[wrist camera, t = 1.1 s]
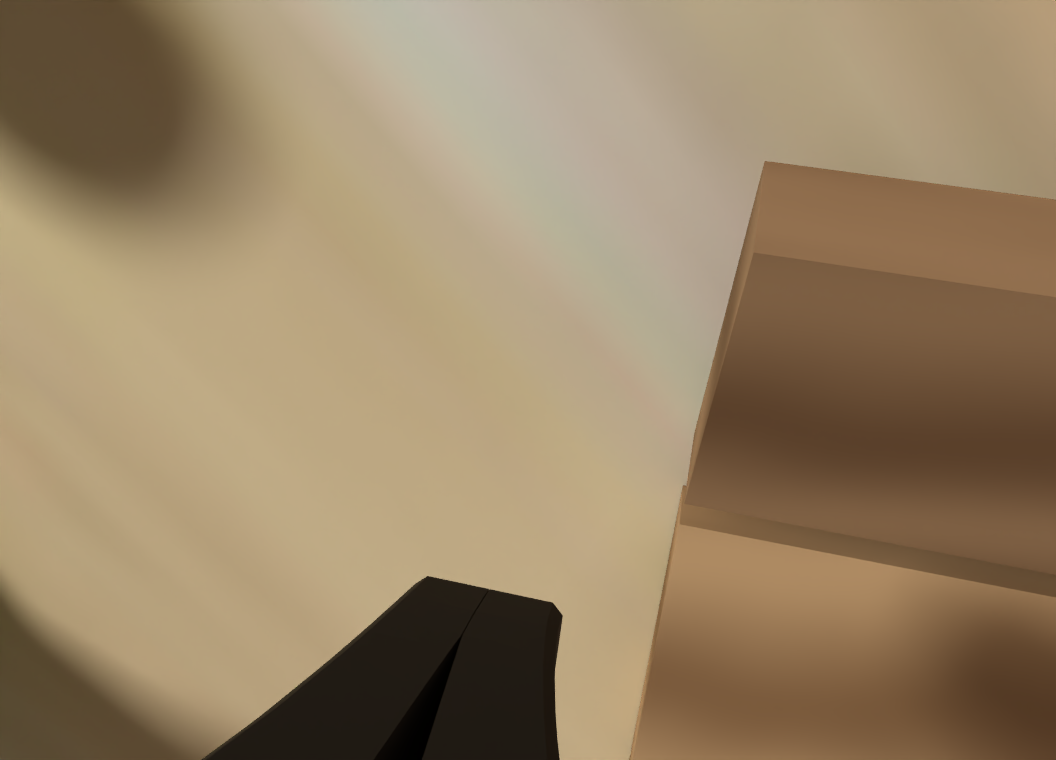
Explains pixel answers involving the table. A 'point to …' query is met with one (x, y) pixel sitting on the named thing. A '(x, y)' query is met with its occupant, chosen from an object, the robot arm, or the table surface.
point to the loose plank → (889, 367)
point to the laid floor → (843, 650)
